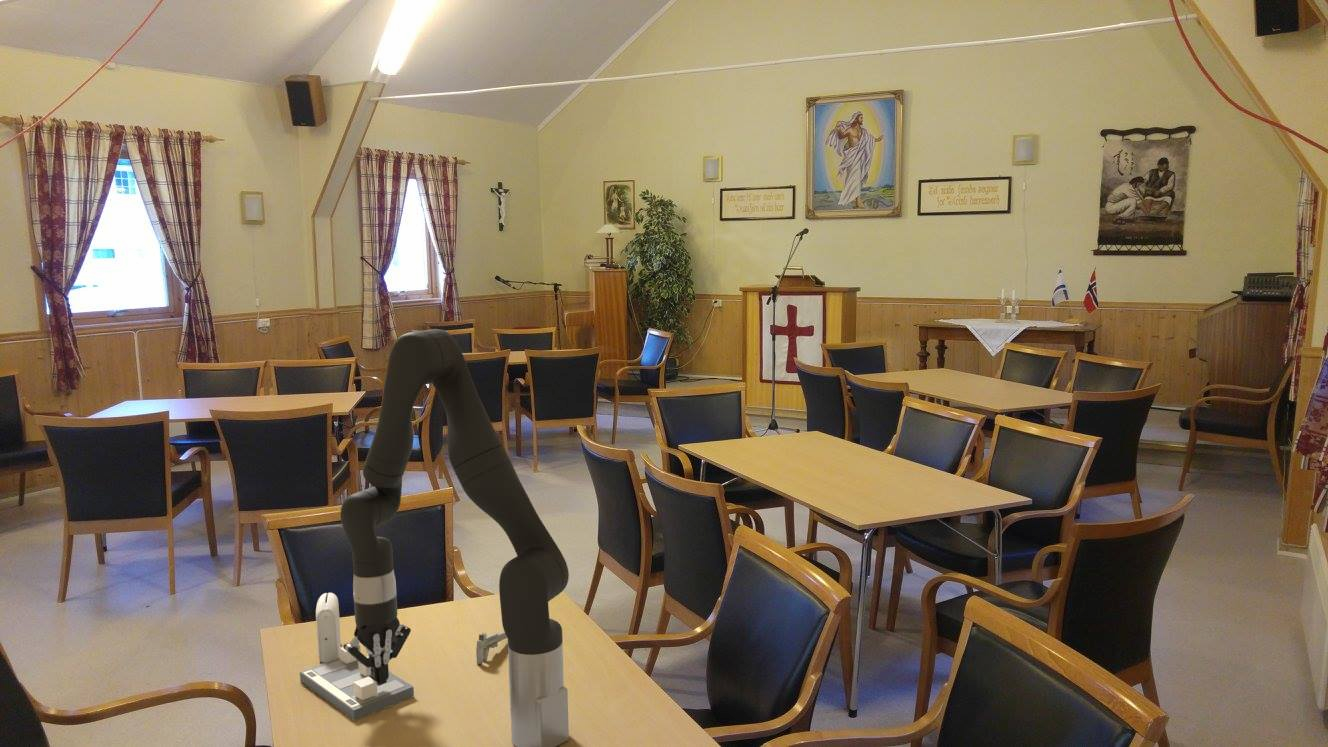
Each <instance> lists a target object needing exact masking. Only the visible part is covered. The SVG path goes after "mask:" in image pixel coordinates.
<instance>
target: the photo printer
mask: <svg viewBox="0 0 1328 747" xmlns="http://www.w3.org/2000/svg"><path fill="white" fill-rule="evenodd" d="M339 605H340V604H339V599H338V596H337V595H336V594H335V593H333V592H328V593H327V592H324V593H323V594H321V595H320V596H319V598H318V599H317V602H316V608H315V623H316V631H317V632H316V636H317V652H318V654H317V655H318V659H319V660H318V661H319V662H322V664H323V663H326V662H329V661H332V660H335V659H338V658H339V647H342V645H341V642H342V639H341V638H342V636H341V620H340V619H341V618H340V609H339V607H340V606H339Z"/></svg>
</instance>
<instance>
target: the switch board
mask: <svg viewBox="0 0 1328 747" xmlns="http://www.w3.org/2000/svg"><path fill="white" fill-rule="evenodd" d="M299 677H300V678H299V679H300V682H301V683H302V684H303V683H304V686H306V687H308V688H309V689H310V690H312V691H313V692H315V694H317V695H318V696H320V697H321V698H322V699H324V700H326V701H327V702H328V703H330V704H331V705H333V707H335V708H336V709H338V710H339V711H341V712H342V713H343V714H345V715H346V716H347V717H349V718H350V719H351V720H353V721H357V720H359V719H363V718H365V717H367V716H370V715H372V714H374V713H377V712H379V711H381V710H385V709H386V708H389V707H391V706H394V705H396V704H399V703H402V702H404V701H407V700H409V699H411V698H414V697H415V692H414V686H413V685H412V684H410V683H409V682H407V681H405V680H404V679H402V678H400V677H399V676H398V675H396V674H394V673H392V672H391V671H389V677H388V679H387V682H386V683H384V684H382V685H377V695H375V696H372V697H370V698H367V699H365V700H361V699H359V698H358V697H357V696H355V695H354V682H355V681H358V680H361V679H363V678H366V676H364V675H363V674H361V673H360V672H359V666H358V660H356V661H354V662H351V663H348V664H346V663H344V662H343V661H341V660H340V658H338V659H335V660H332V661H329V662H326V663H323V662H322V663H320V664H317V665H316V666H312V667H310V668H306V669H304V670H301V671H299ZM367 677H370V678H371V675H370V676H367Z"/></svg>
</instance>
